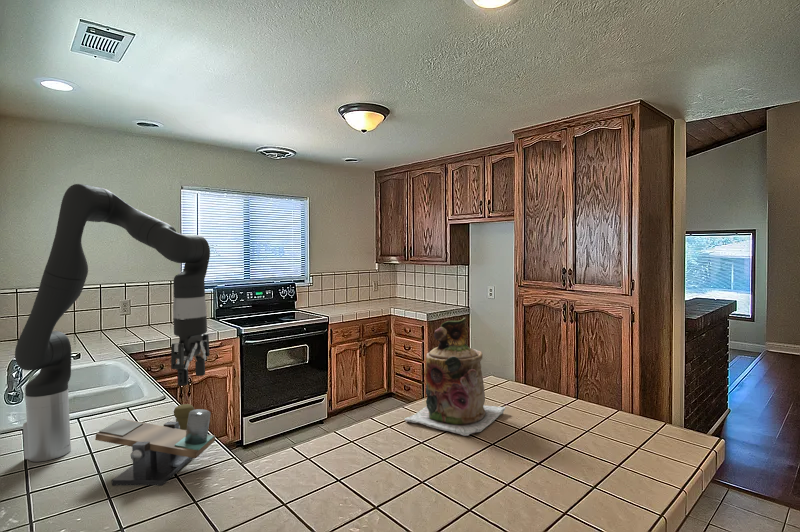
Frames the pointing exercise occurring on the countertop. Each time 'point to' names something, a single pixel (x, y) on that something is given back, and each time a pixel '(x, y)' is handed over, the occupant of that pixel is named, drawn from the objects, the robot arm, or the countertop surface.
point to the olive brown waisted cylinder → (183, 415)
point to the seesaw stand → (151, 465)
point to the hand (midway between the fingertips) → (192, 380)
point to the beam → (152, 437)
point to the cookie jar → (455, 385)
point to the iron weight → (197, 426)
